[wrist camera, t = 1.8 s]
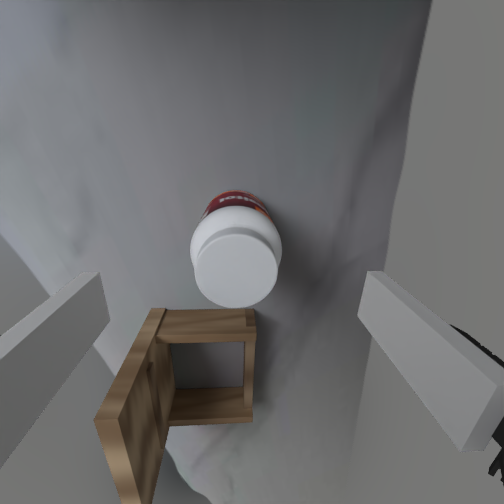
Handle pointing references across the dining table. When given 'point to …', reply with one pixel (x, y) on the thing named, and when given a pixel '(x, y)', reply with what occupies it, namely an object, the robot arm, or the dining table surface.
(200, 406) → the brown wooden l-shaped frame
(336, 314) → the dining table surface
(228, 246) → the pill bottle
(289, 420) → the dining table surface
